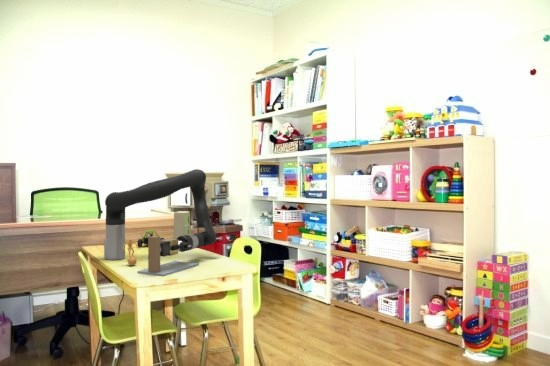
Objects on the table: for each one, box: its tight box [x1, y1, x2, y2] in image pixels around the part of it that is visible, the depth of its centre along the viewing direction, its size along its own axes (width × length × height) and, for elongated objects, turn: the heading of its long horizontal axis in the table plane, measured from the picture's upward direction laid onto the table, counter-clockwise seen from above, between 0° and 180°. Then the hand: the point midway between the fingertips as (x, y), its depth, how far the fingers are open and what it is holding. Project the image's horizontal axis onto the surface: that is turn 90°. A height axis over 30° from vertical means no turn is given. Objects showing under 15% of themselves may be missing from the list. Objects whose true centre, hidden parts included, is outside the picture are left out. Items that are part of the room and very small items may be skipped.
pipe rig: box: [137, 235, 200, 277], centre depth 208 cm, size 14×26×16 cm, turn 156°
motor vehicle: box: [136, 230, 165, 248], centre depth 273 cm, size 12×19×11 cm, turn 179°
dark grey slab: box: [160, 241, 170, 257], centre depth 202 cm, size 6×4×6 cm
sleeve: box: [160, 238, 179, 257], centre depth 207 cm, size 6×6×6 cm
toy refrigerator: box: [173, 210, 191, 239], centre depth 264 cm, size 8×7×21 cm
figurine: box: [122, 239, 140, 267], centre depth 215 cm, size 8×6×12 cm
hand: (165, 247), depth 205 cm, fingers closed on sleeve, 6 cm apart
